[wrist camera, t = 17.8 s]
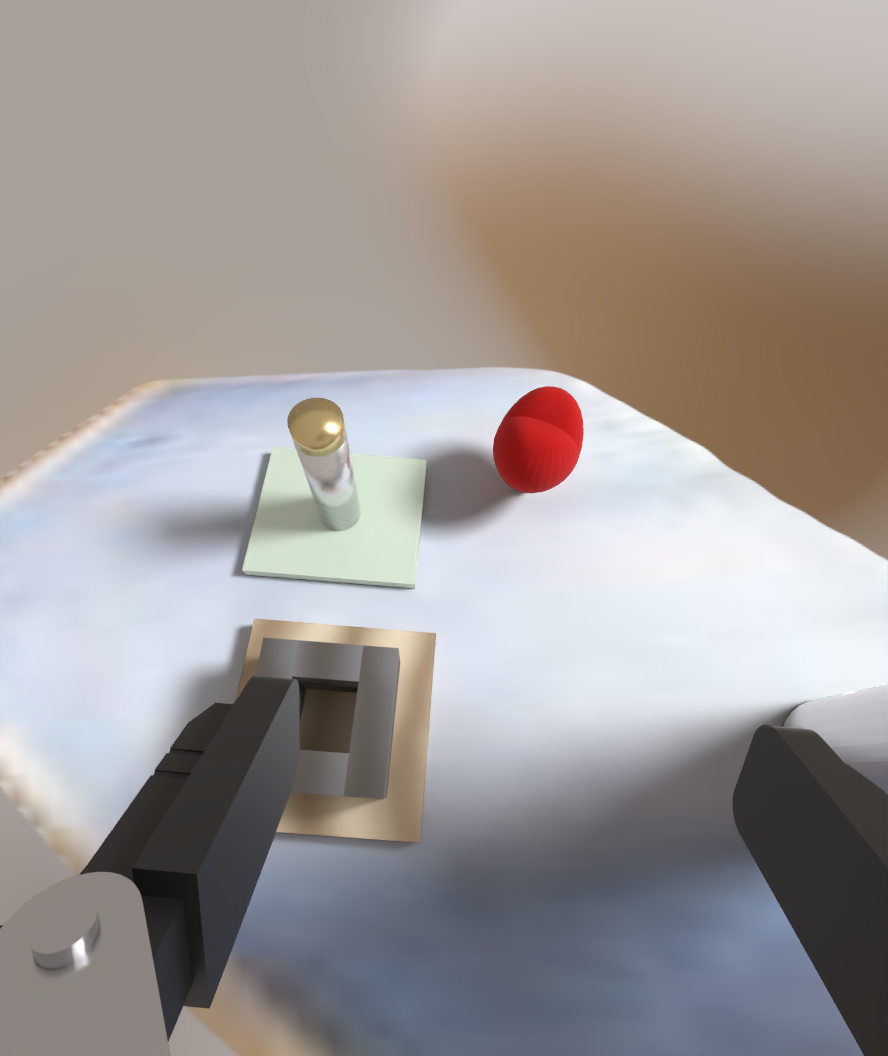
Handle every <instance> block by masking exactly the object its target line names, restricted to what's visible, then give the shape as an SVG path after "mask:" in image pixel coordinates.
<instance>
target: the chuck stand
mask: <svg viewBox="0 0 888 1056" xmlns="http://www.w3.org/2000/svg"><path fill="white" fill-rule="evenodd" d="M435 640H436V633H426V632H414V631H401V630H389V629H377V628H364V627H352V626H339V625H327V624H314V623H302V622H290V621H277V620H265V619H254V622H253V626H252V631H251V635H250V639H249V644H248V648H247V652H246V657H245V661H244V666H243V670H242V674H241V679H240V683H239V687H238V692H237V696H236V700H237V698H238V697H239V695H240V693H241V692H242V690H243V689H244V687H245V685H246V684H247V682H248V681H249V679H250V678H251V677H252V676H254V675H256V676H267V677H278V678H288V679H297V680H298V683H299V741H300V748H299V761H298V767H297V773H296V777H295V781H294V784H293V788H292V791H291V793H290V796H289V799H288V801H287V804H286V807H285V809H284V812H283V815H282V817H281V820H280V823H279V825H278V828H277V830H276V832H283V833H297V834H310V835H324V836H337V837H351V838H365V839H378V840H392V841H405V842H419V843H420V839H421V825H422V812H423V799H424V786H425V772H426V759H427V746H428V733H429V719H430V706H431V693H432V680H433V666H434V653H435Z"/></svg>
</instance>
